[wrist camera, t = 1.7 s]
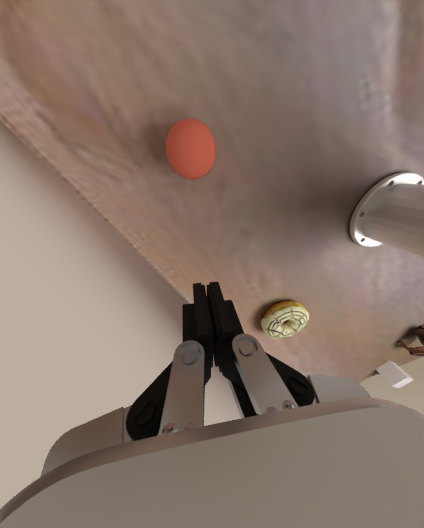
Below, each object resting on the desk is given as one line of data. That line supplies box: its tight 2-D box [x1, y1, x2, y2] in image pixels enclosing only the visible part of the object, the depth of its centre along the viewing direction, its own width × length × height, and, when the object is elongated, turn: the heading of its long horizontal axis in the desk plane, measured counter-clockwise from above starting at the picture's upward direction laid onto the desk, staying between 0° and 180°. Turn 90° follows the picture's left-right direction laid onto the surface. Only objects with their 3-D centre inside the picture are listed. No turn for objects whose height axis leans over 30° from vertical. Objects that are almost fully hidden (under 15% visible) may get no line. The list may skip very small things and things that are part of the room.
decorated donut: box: [261, 301, 309, 339], centre depth 39 cm, size 10×11×4 cm
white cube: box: [376, 361, 413, 388], centre depth 63 cm, size 6×6×6 cm
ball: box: [166, 119, 216, 179], centre depth 19 cm, size 6×6×6 cm
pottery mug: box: [399, 325, 424, 356], centre depth 53 cm, size 12×9×8 cm
